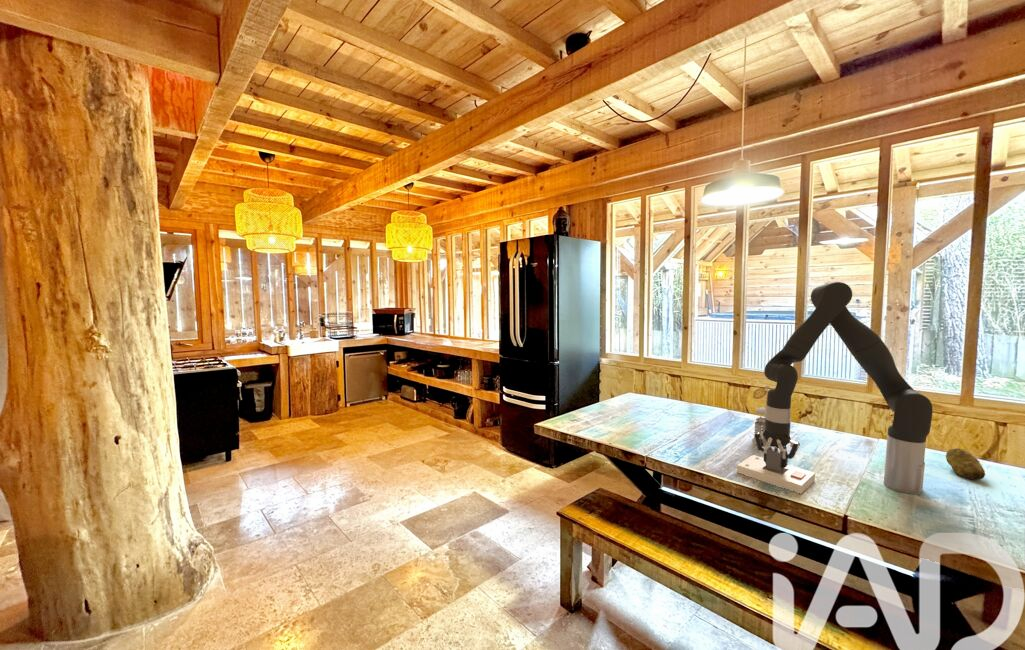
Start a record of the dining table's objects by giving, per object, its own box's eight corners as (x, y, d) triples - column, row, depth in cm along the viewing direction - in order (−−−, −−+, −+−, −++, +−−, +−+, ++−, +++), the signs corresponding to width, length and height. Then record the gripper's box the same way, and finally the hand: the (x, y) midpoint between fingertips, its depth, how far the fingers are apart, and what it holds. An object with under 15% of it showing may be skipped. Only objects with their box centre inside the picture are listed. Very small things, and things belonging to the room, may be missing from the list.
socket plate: (814, 481, 143) (815, 471, 142) (801, 494, 134) (801, 483, 134) (752, 462, 158) (753, 453, 158) (736, 472, 149) (737, 463, 149)
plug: (784, 471, 146) (785, 448, 145) (779, 475, 143) (780, 451, 142) (770, 467, 149) (771, 444, 148) (765, 471, 146) (766, 447, 146)
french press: (780, 442, 178) (783, 385, 176) (773, 449, 170) (776, 390, 168) (755, 436, 185) (757, 382, 183) (747, 443, 177) (749, 386, 175)
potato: (951, 477, 144) (953, 455, 144) (942, 464, 155) (944, 444, 154) (986, 484, 139) (988, 461, 139) (975, 470, 150) (977, 449, 149)
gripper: (805, 421, 141) (802, 469, 143) (759, 411, 152) (757, 456, 154) (797, 426, 136) (794, 475, 138) (751, 416, 147) (749, 461, 149)
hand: (775, 465), depth 146 cm, fingers closed on plug, 4 cm apart
